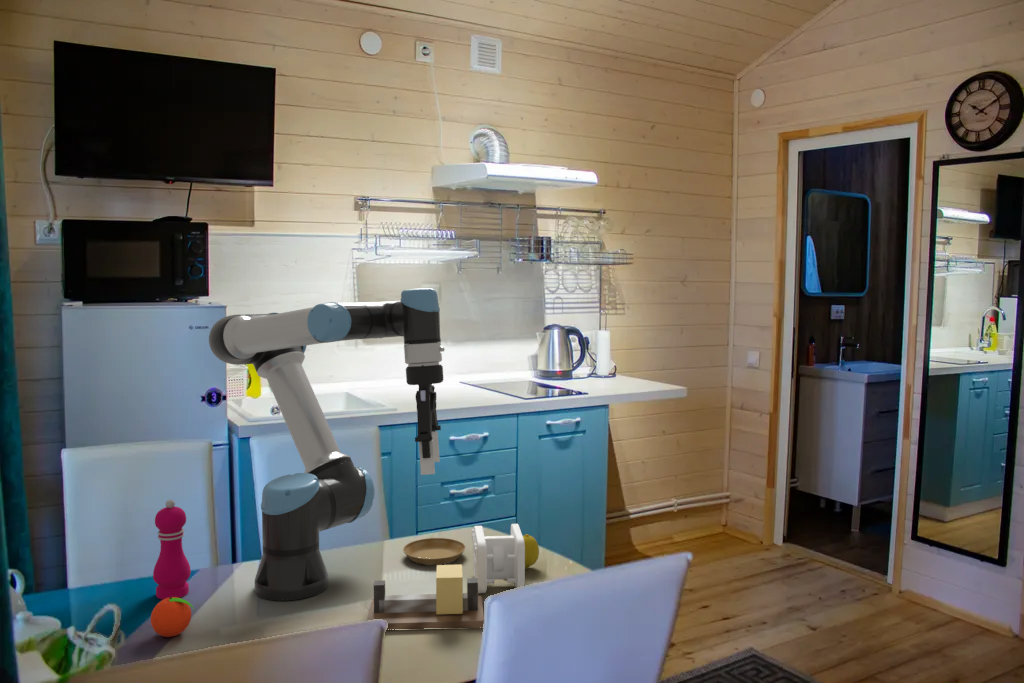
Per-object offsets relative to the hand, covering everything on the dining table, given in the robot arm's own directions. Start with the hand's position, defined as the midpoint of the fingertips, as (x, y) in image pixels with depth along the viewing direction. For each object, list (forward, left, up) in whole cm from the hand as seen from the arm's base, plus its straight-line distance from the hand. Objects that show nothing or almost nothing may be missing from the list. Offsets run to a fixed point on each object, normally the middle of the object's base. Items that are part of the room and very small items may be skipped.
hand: (430, 468), depth 163 cm
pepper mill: (-54, +5, -27) cm, 61 cm away
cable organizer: (+14, +6, -27) cm, 32 cm away
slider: (+4, -10, -25) cm, 27 cm away
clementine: (-47, -15, -27) cm, 56 cm away
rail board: (-1, -10, -27) cm, 29 cm away
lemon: (+21, +15, -27) cm, 38 cm away
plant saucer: (0, +24, -28) cm, 37 cm away
